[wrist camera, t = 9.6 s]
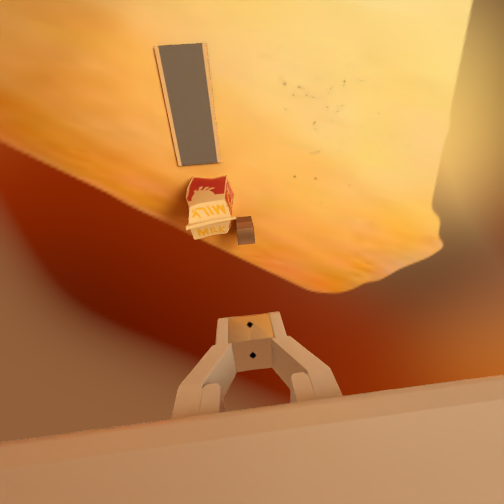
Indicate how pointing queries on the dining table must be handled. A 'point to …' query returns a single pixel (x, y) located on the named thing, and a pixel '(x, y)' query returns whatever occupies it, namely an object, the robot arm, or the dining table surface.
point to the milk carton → (209, 206)
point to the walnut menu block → (245, 230)
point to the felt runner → (189, 102)
